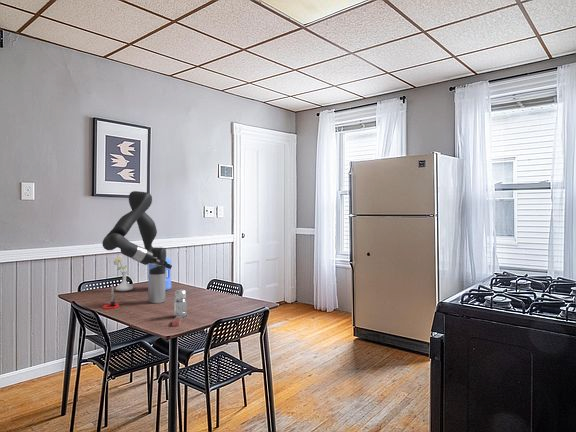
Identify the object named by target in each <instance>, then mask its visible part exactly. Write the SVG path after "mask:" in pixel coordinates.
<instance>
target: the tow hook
mask: <svg viewBox="0 0 576 432" xmlns="http://www.w3.org/2000/svg"><path fill="white" fill-rule="evenodd" d="M114 295H115V292H114V284H113V283H112V284H111V297H110V299H111V300H110V303H106V305H103V306H102V309H104V310H114V309H117V308H119V307H120V303H117V302H116V300H115V296H114Z"/></svg>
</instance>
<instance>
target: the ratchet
mask: <svg viewBox="0 0 576 432" xmlns="http://www.w3.org/2000/svg"><path fill="white" fill-rule="evenodd" d="M173 312H174V313H173V316H174V318H173V319H172V322H171V327H180V324H181V322H182V319H183V318H186V317H188V316H187V315H188V313H187V312H182V313H175V311H173Z"/></svg>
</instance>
